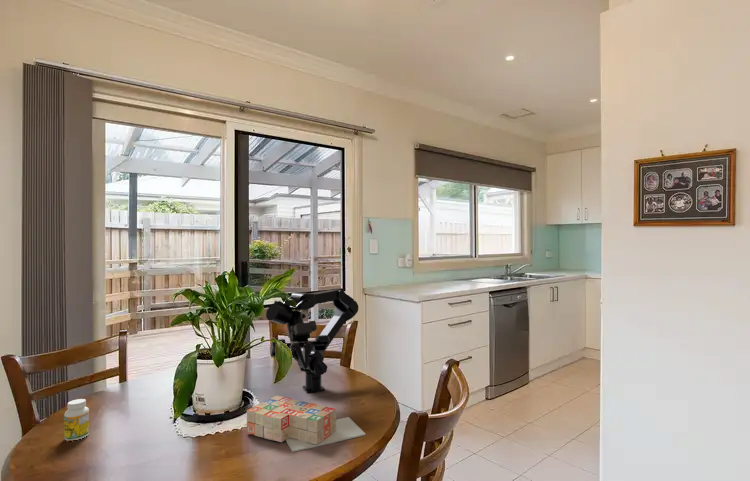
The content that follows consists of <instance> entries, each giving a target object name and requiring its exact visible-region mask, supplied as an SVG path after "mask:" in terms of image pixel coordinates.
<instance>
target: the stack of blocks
mask: <svg viewBox="0 0 750 481" xmlns="http://www.w3.org/2000/svg"><path fill="white" fill-rule="evenodd" d="M336 420H337V408H333V407H328V406H327V405H321V404H316V403H313V402H306V401H303V400H297V399H292V398H290V397H284V396H282V395H274V396H272V397H271V398H269V399H267V400H264V401H263V402H260V403H258V404H255V405H254V406H253V407H251V408H248V409H246V433H247V434H249V435H252V436H255V437H259V438H262V439H265V440H270V441H276V442H279V443H283V442H284V441H286V439H287V438H289V437H290V438H293V439H297V440H300V441H303V442H309V443H312V444H316V445H317V444H319V443H320V442H321V441H323V440H325V439H326V438H328V437H329V436H330V435H331V434H333V433H334V432H335V431H336Z"/></svg>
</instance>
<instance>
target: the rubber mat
mask: <svg viewBox="0 0 750 481" xmlns="http://www.w3.org/2000/svg"><path fill="white" fill-rule="evenodd" d="M364 436H367V435H366V433H365V432H364V431H363V430H362V429H361V428H360V426H358V425H357V424H356V423H355V422H354V421H353V420H352V419H351V418H350V417H349V416H346V417H342V418H338V419H337V418H336V431H335V432H334V433H333V434H331V435H330V436H329V437H328V438H326V439H325V440H323V441H321V442H320V443H319V444H317V445H316V444H312V443H309V442H303V441H300V440H297V439H293V438H290V437H289V438H287V439H286V440H285V442H286V443H287V445H288V447H289V450H290V451H291V452H292V453H294V452H298V451H299V452H300V451H302V450H303V451H304V450H308V449H310V448H311V449H312V448H316V447H320V446H324V445H325V446H326V445H329V444H333V443H334V444H335V443H339V442H342V441H346V440H351V439H355V438H360V437H364Z"/></svg>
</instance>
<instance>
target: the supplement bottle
mask: <svg viewBox="0 0 750 481" xmlns="http://www.w3.org/2000/svg"><path fill="white" fill-rule="evenodd" d="M66 405H67V406H66V407H67V410H66V411H65V412H64V414H63V415H64V416H63V417H64V418H63V419H64V420H63V421H64V422H63V428H64V429H63V434H64V435H63V437H64V438H63V440H64V439H65V440H78V439H81V440H83V439H82V438H84V437H85V438H87V437H88V436H89V435H90V408H89V407H88V406H86V405H87V400H86V399H85V398H77V399H73V400H70V401H68V402H67V404H66ZM86 436H87V437H86ZM85 438H84V439H85ZM65 440H64V441H65ZM78 441H79V440H78Z"/></svg>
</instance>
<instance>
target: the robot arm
mask: <svg viewBox="0 0 750 481" xmlns="http://www.w3.org/2000/svg"><path fill="white" fill-rule="evenodd" d="M289 298H292V299H294V300H295V301H296V303H297V305H296V307H293V306H291V305H292V304H291V305H290V304H289V303H288V304H287V303H285V301H284V302H282V301H280V300H274V302H273V303H272V304H271V305H270V306H268V308H267V309H266V313H265V317H266V320H268V321H270V322H273V323H276V324H279V325H283V326H285V325H286V328H287V332H288V333H287V337H288V339H289V342H286V339H285V338H280V339H279V338H278V340H279V341H282V342H283V343H285V344H287V346H288V347H289V348H290V349H291V351H292V355H293V357H292V358H293V359H294V360H295V361H296V362H297V365H298V368H299V369H300V372H304V374H305V375H304V376H305V378H304V379H305V383H304V384H305V385H302V389H303V390H304V391H305V393H307V394H311V393H317V392H322V391H325V387H324V386H323V385H322V376H323V375H324V374H325V373H327V371H328V365H327V364H326V363H325V362H324V360H325V352H326V350H327V349H328V347H329V345H330V344H331V343H332V342H333V340H334V338H335V337H336V335H337V334H338V333H339V331H340V330H341V329H342V327H343V326H344V325H345V323H346V322H348V321H350V320H352V319H354V317H355V316H356V315H357V314H358V311H359V304H358V302H357V301H356V300H355V299H354V298H352V297H351V296H350V295H349V294H347V293H346V292H345V291H344V290H343V289H342V288H341V289H340V288H332V289H328V290H323V291H322V290H321V291H316V292H311V293H310V292H295V291H294V292H292V293H291V294H290V297H289ZM329 302H332V304H333V306H334V312H333V314H334V315H333V316H332V317H331V319H330V320H329V321H328V323H327V324H326V326H324V328H323V330H322V331H321V332H320V334H319V335H316V337H315V338H314V339H313V340H309V339H310V338H311V334H312V333H313V332H315V331H316V330H317V328H318V327H317V322H316V320H309V321H308V322H304V319H305V318H306V317H307V316H306V314H305V313H303V312H301V311H308V310H309V309H312V308H315V306H316V305H319V304H323V303H329ZM294 309H295V310H294ZM269 355H270V357H272V358H274V357H276V356H275V343H273V342H272V341H271V343H270V346H269Z"/></svg>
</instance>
